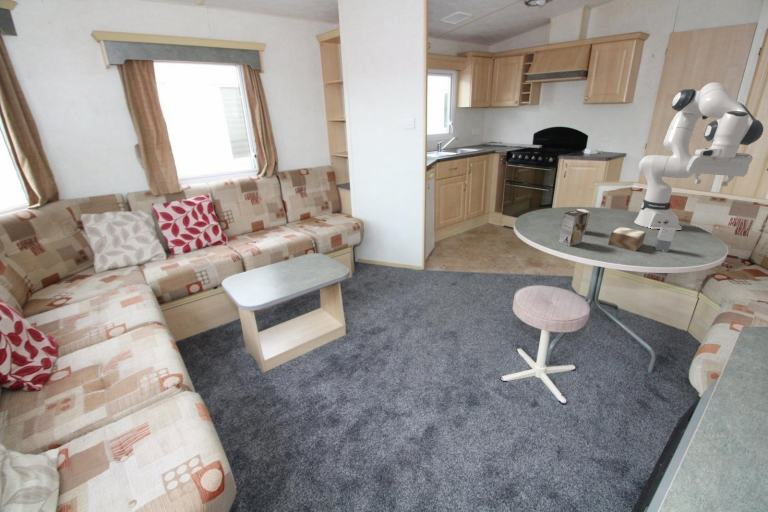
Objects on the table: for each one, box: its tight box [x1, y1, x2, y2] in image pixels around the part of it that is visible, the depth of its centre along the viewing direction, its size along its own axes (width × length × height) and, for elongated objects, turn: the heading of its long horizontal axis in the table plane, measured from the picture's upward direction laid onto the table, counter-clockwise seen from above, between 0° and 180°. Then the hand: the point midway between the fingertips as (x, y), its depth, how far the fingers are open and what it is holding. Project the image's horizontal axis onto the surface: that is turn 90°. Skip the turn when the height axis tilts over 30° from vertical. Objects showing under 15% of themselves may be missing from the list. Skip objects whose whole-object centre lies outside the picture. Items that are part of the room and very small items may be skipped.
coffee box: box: [558, 209, 588, 247], centre depth 181 cm, size 9×6×16 cm
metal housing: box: [653, 226, 676, 252], centre depth 174 cm, size 5×5×11 cm
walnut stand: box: [608, 226, 647, 252], centre depth 180 cm, size 12×12×7 cm
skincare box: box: [576, 208, 591, 234], centre depth 197 cm, size 6×4×12 cm
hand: (710, 184), depth 158 cm, fingers open, 8 cm apart
